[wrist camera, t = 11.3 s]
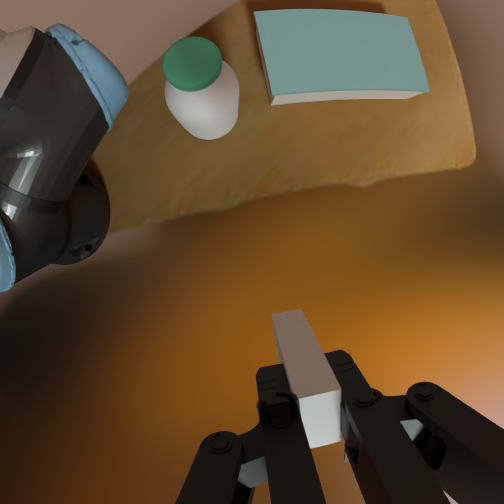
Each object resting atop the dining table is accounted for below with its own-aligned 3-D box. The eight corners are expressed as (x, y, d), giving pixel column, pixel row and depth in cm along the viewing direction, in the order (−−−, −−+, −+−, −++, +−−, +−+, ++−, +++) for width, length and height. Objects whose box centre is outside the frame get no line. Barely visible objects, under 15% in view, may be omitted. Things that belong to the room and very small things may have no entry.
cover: (271, 96, 34) (272, 94, 33) (253, 14, 31) (253, 11, 30) (427, 92, 34) (430, 91, 34) (404, 19, 32) (406, 17, 31)
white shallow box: (270, 105, 39) (275, 96, 34) (255, 33, 36) (258, 17, 31) (406, 99, 39) (423, 92, 34) (388, 33, 37) (402, 22, 32)
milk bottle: (238, 139, 40) (243, 104, 20) (181, 141, 39) (138, 110, 20) (238, 86, 38) (243, 17, 19) (182, 89, 38) (145, 24, 18)
